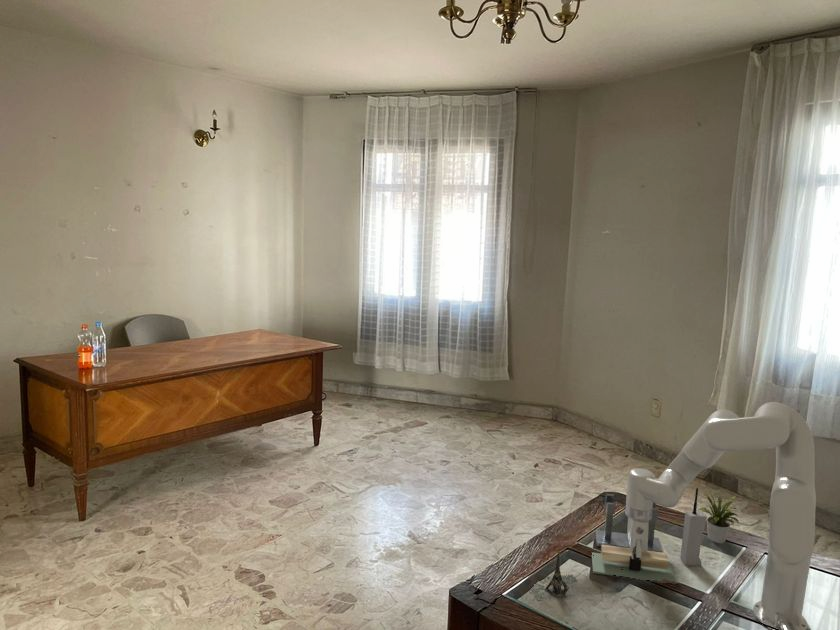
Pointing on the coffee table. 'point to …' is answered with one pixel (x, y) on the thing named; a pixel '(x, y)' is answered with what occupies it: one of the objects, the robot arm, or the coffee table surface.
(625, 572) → the rubber mat
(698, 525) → the vintage mobile phone
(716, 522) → the house plant
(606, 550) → the maple rail
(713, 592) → the coffee table surface
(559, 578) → the eiffel tower figurine
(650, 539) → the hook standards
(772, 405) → the robot arm
